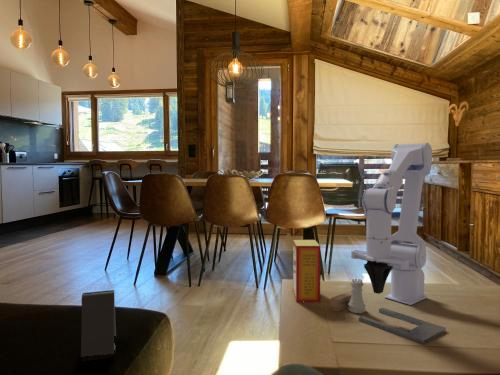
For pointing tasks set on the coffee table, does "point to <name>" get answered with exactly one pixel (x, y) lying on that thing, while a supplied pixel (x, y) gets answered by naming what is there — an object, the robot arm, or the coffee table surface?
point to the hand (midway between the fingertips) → (378, 292)
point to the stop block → (341, 301)
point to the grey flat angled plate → (418, 334)
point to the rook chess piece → (356, 297)
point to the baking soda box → (306, 270)
